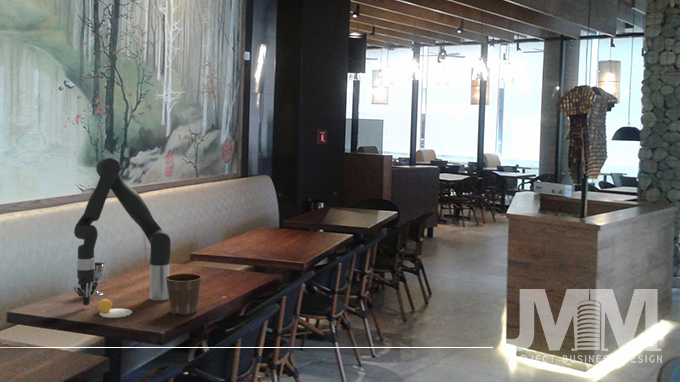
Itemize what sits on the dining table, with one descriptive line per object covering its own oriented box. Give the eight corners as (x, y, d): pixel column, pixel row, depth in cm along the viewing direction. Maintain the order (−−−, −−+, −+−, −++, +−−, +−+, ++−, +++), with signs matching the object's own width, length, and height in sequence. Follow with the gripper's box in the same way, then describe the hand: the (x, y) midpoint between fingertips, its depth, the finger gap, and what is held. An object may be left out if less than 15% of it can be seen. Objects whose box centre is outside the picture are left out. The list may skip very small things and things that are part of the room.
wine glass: (108, 293, 349) (108, 263, 348) (95, 296, 342) (95, 266, 341) (97, 291, 353) (97, 261, 352) (84, 294, 346) (84, 264, 345)
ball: (117, 304, 318) (107, 302, 321) (109, 297, 314) (100, 295, 317) (109, 316, 315) (100, 314, 317) (102, 308, 310) (92, 307, 313)
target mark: (132, 308, 324) (132, 307, 324) (131, 316, 310) (131, 316, 310) (100, 309, 320) (100, 309, 320) (98, 318, 307) (98, 317, 307)
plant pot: (158, 310, 321) (158, 276, 320) (188, 305, 333) (189, 271, 331) (177, 318, 310) (177, 282, 308) (208, 312, 321) (208, 277, 319)
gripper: (90, 264, 327) (90, 300, 329) (68, 269, 315) (69, 307, 317) (102, 266, 325) (102, 302, 326) (81, 271, 312) (81, 309, 314)
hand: (86, 304), depth 322 cm, fingers closed
